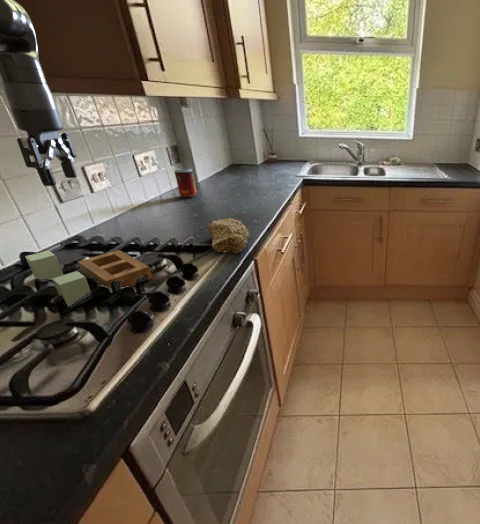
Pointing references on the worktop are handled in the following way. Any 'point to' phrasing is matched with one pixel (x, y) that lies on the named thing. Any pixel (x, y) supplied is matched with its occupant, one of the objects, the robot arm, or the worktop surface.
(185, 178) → the soda can
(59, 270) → the pad
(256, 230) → the worktop surface
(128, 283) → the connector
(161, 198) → the worktop surface
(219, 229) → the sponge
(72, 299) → the pale green block
